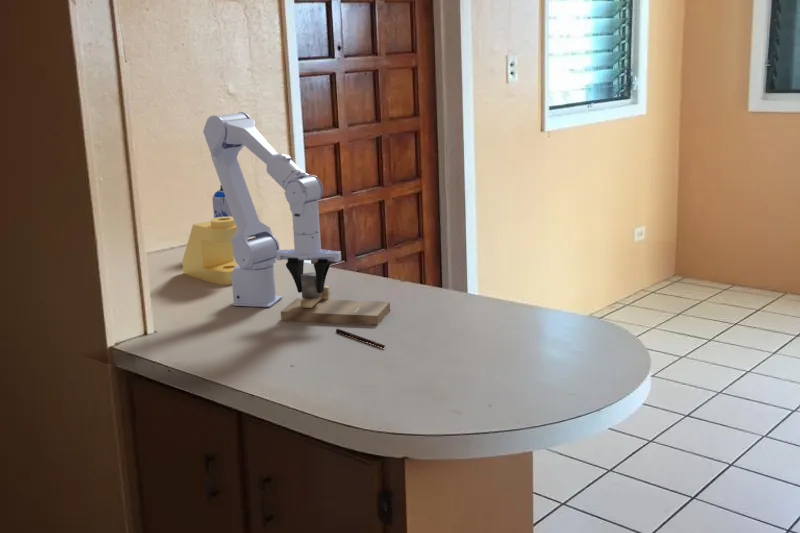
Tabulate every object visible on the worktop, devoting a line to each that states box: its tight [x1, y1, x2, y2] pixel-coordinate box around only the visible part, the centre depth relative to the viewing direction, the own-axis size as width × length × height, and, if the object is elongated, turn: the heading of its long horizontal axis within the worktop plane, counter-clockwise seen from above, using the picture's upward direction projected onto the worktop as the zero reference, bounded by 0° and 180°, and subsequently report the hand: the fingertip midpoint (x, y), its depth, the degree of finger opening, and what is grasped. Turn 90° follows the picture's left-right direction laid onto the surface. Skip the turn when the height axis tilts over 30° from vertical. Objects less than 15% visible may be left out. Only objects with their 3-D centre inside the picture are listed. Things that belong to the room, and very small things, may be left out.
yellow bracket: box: [181, 217, 238, 285], centre depth 223 cm, size 20×9×16 cm, turn 44°
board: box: [280, 297, 391, 325], centre depth 188 cm, size 22×10×2 cm, turn 76°
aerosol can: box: [212, 184, 233, 218], centre depth 247 cm, size 8×8×20 cm
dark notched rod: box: [335, 328, 386, 348], centre depth 172 cm, size 15×1×1 cm, turn 42°
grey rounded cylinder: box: [301, 272, 331, 308], centre depth 191 cm, size 5×9×8 cm, turn 165°
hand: (310, 291), depth 190 cm, fingers closed on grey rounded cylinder, 4 cm apart
